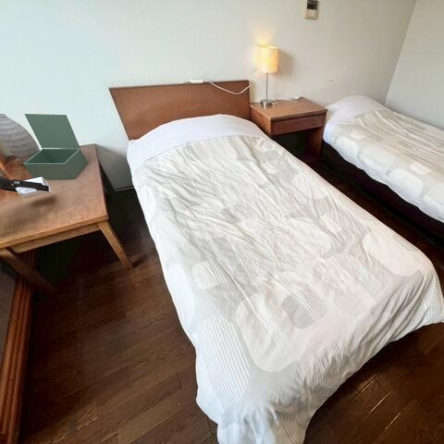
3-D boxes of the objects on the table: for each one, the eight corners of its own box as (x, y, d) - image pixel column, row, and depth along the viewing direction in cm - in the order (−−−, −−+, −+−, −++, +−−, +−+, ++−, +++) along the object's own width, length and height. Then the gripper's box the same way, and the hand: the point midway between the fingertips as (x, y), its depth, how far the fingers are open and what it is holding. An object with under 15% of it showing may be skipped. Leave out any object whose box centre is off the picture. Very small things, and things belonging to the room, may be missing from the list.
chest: (74, 179, 140) (64, 163, 133) (34, 179, 137) (22, 164, 130) (88, 163, 152) (80, 148, 146) (52, 163, 149) (42, 148, 143)
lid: (65, 115, 135) (70, 113, 139) (24, 113, 132) (30, 112, 136) (79, 148, 145) (84, 145, 149) (41, 148, 142) (47, 145, 146)
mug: (26, 196, 121) (15, 180, 117) (52, 189, 126) (42, 174, 122) (23, 203, 113) (10, 187, 108) (50, 196, 118) (40, 181, 113)
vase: (47, 155, 155) (16, 109, 136) (48, 164, 148) (15, 117, 129) (20, 160, 149) (-16, 112, 130) (20, 170, 142) (-19, 120, 123)
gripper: (-55, 189, 94) (2, 197, 116) (19, 189, 98) (61, 196, 120) (-55, 170, 95) (2, 181, 116) (19, 170, 99) (61, 181, 120)
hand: (32, 188), depth 118 cm, fingers closed on mug, 12 cm apart
